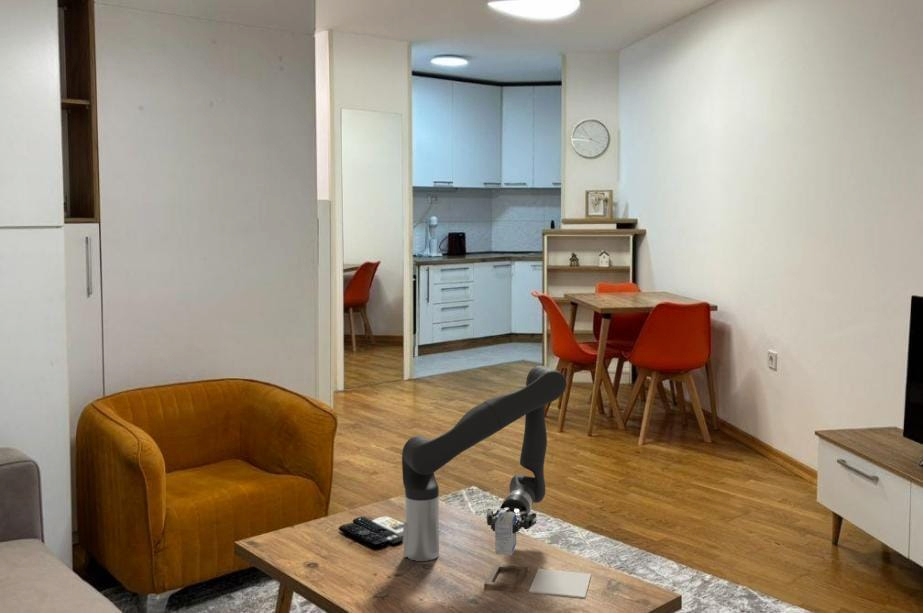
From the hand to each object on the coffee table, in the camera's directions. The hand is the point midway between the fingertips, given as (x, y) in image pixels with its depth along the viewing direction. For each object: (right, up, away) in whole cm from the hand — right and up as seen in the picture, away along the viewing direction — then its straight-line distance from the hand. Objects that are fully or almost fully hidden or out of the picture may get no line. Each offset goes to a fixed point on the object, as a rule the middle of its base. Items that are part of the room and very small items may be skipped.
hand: (504, 528), depth 222 cm
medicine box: (+1, -6, +3) cm, 7 cm away
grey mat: (+15, -15, +2) cm, 21 cm away
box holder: (+1, -14, +4) cm, 15 cm away
